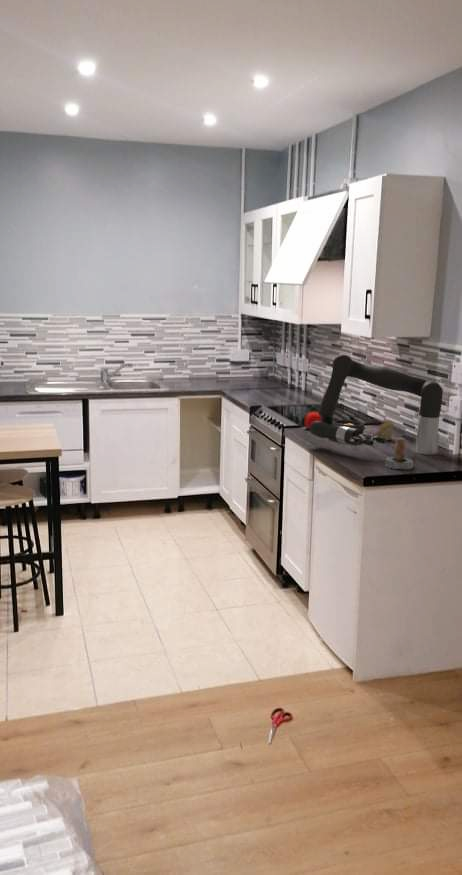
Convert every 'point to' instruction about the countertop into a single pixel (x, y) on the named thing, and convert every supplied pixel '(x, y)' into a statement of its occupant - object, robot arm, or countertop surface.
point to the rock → (386, 430)
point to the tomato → (312, 418)
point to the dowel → (399, 449)
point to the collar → (398, 463)
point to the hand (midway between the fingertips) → (378, 442)
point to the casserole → (350, 424)
